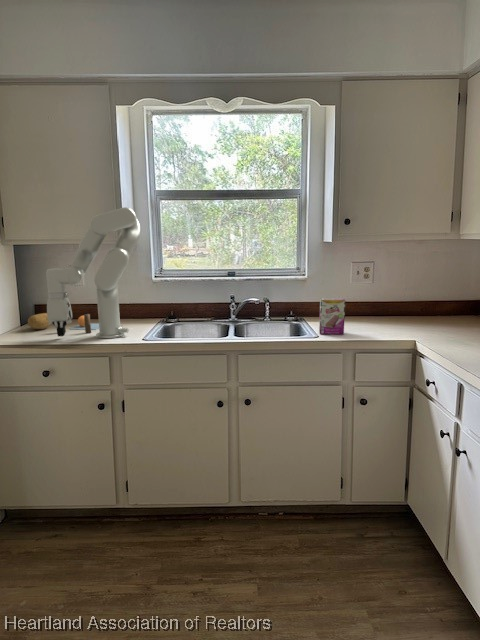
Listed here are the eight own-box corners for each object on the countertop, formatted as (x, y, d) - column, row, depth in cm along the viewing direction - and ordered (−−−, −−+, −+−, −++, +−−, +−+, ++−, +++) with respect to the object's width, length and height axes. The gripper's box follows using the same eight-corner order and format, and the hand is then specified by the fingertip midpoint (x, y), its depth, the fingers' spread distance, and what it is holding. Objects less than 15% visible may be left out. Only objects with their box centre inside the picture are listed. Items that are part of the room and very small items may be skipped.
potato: (58, 326, 228) (57, 311, 226) (41, 332, 214) (40, 316, 213) (41, 325, 229) (40, 310, 228) (24, 331, 216) (22, 315, 214)
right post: (92, 332, 212) (90, 314, 211) (89, 333, 210) (88, 315, 208) (87, 332, 213) (85, 314, 211) (84, 333, 210) (83, 315, 208)
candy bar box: (319, 334, 201) (320, 299, 198) (318, 332, 206) (319, 298, 203) (344, 335, 200) (345, 299, 197) (342, 332, 205) (344, 298, 202)
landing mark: (107, 324, 232) (107, 323, 232) (95, 329, 218) (95, 329, 218) (82, 323, 233) (82, 323, 233) (69, 329, 220) (69, 328, 220)
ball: (87, 315, 222) (88, 327, 222) (91, 315, 228) (91, 326, 228) (75, 315, 221) (76, 327, 222) (79, 315, 227) (80, 326, 228)
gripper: (77, 295, 198) (80, 334, 202) (46, 294, 200) (50, 333, 204) (69, 297, 191) (72, 338, 195) (37, 297, 193) (41, 337, 196)
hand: (61, 335), depth 199 cm, fingers closed
